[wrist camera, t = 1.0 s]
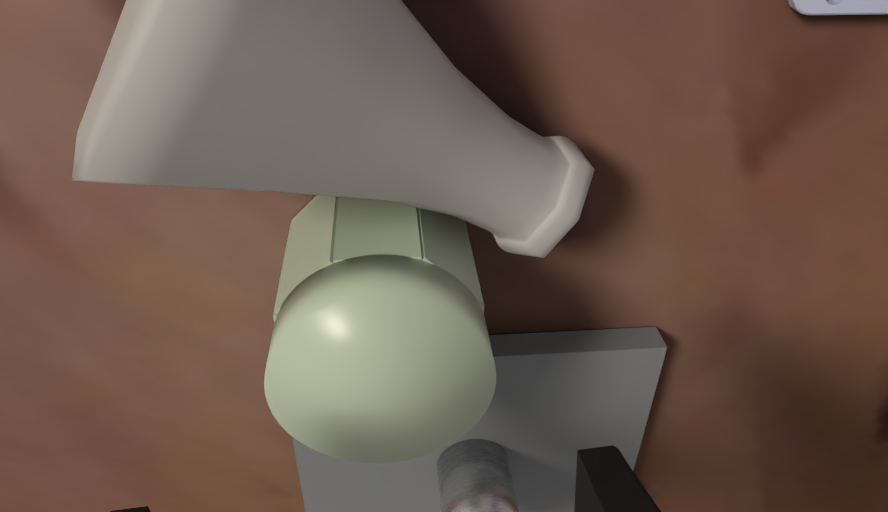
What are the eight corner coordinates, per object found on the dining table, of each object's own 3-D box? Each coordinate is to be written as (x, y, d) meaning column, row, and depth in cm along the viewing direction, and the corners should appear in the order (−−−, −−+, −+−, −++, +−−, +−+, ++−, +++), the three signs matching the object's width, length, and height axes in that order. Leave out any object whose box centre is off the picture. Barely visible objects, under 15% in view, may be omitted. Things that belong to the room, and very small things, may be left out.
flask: (263, -293, 8) (732, 95, 13) (196, -187, 14) (537, 49, 19) (35, 251, 9) (550, 399, 14) (66, 129, 15) (421, 265, 20)
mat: (656, 326, 21) (667, 347, 21) (608, 511, 27) (616, 533, 26) (283, 345, 20) (279, 368, 20) (315, 532, 26) (313, 556, 25)
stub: (509, 436, 22) (530, 529, 20) (505, 482, 24) (523, 575, 21) (436, 441, 22) (446, 535, 19) (436, 487, 24) (445, 581, 21)
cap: (470, 167, 18) (503, 292, 13) (463, 311, 20) (489, 456, 16) (280, 171, 17) (247, 303, 13) (300, 318, 20) (279, 469, 15)
